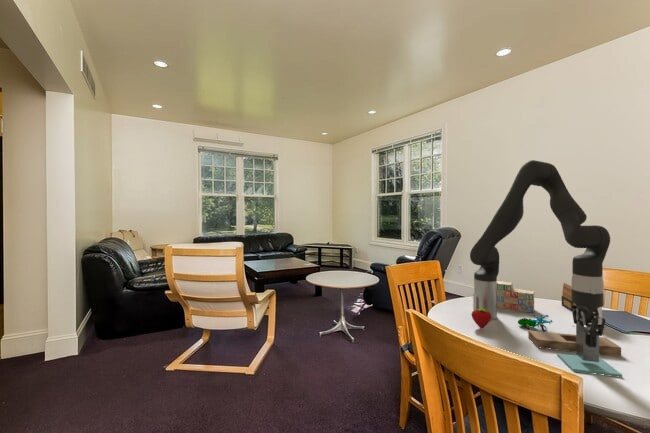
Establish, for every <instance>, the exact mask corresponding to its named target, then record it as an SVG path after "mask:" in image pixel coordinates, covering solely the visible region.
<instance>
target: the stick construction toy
mask: <svg viewBox="0 0 650 433" xmlns="http://www.w3.org/2000/svg"><path fill="white" fill-rule="evenodd" d="M533 316H534V317H535V318H536V319H531V318H520V319H518V320H517V324H518V325H520V326H522V327H523V326H525V327H527V330H530V329H531V328H535V327H536V328H539V327H540V328H541V330H542V331H541V332H546V330H545V329H547V326H546V325H544V324H549V325H551V323H553V320H552V319H551V320H546V319H545V318H549V314H546V315H544V316H543V315H542V314H541V315H540V316H541V317H539V316H537V315H536V314H534V313H533ZM530 327H531V328H530Z"/></svg>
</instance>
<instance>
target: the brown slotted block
mask: <svg viewBox="0 0 650 433" xmlns="http://www.w3.org/2000/svg"><path fill="white" fill-rule="evenodd" d="M527 336H528V339H529V341H530V340H531V341H532V342H533V343H532V342H531V341H530V342H531V343H532V344H533V345H534V346H535V348H537V347H541V348H540V349H544V348H551V349H550V350H554V349H558V350H557V351H564V350H565V351H566V352H572V353H573V352H574V353H576V334H569V333H560V332H546V331H545V332H543V331H535V330H528V335H527ZM599 355H604V356H613V357H622V347H621V346H619V345H618V344H616V342H613V341H612V340H610V339H609V338H607V337H601V336H599Z"/></svg>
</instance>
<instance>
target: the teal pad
mask: <svg viewBox="0 0 650 433" xmlns="http://www.w3.org/2000/svg"><path fill="white" fill-rule="evenodd" d="M556 356H557V358H558V359H560V360H561V362H562V363H564V365H566V366H567V367H568V369H570V370H571V371H572V372H573V371H576V372H575V373H582V374H583V373H584V374H589V373H596V374H595V375H598V374H604V375H603V376H606V375H611V376H610V377H614V376H619V377H618V378H623V374H622V373H621V372H620V371H618V370H617V369H616V368H614V366H612V365H610V364H609V363H608V362H607V361H605V360H604V359H603V358H602V357H601V358H600V357H599V362H592V361H584V360H582V359H581V358H580V357H579V356H578V355H574V354H564V353H556Z"/></svg>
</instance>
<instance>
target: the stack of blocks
mask: <svg viewBox="0 0 650 433" xmlns="http://www.w3.org/2000/svg"><path fill="white" fill-rule="evenodd" d="M497 308H501V309H509V310H514V311H518V312H519V311H520V312H525V313H530V314H531V313H532V314H534V312H535V291H534V290H525V289H519V288H514V286H513V282H510V281H509V282H508V281H501V280H500V281H499V280H497Z"/></svg>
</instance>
